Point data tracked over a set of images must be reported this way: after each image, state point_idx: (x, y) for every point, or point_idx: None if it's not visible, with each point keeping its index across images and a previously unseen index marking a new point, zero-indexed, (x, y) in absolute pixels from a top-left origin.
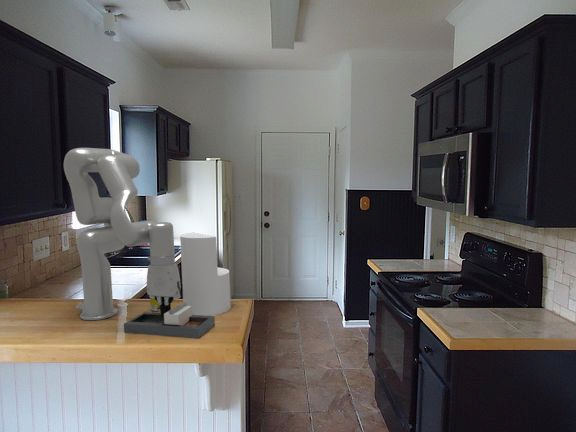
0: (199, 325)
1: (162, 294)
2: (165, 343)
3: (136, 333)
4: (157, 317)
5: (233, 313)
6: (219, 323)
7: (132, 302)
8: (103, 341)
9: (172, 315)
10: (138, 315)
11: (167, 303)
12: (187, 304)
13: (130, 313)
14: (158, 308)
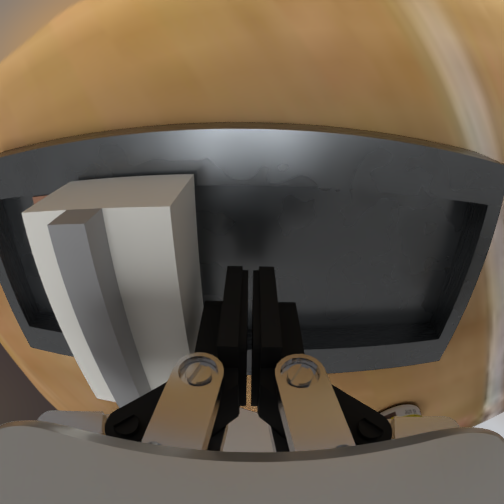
0: None
1: (181, 491)
2: (118, 21)
3: (408, 137)
4: (355, 333)
5: (86, 410)
6: None
7: (473, 418)
8: (501, 34)
9: (76, 206)
10: (463, 311)
11: (187, 376)
12: (245, 448)
13: (480, 364)
14: (390, 416)
